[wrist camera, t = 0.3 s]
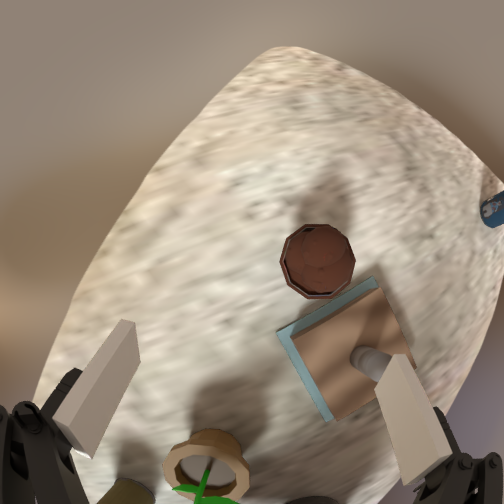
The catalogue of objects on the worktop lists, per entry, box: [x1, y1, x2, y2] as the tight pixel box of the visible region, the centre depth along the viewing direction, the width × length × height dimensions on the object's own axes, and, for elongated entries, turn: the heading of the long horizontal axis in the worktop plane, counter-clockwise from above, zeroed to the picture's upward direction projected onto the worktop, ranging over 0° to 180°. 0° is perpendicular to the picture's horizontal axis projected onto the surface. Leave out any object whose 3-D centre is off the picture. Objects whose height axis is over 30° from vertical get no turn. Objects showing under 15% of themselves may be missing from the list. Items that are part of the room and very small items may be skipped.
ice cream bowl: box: [279, 224, 356, 299], centre depth 40 cm, size 11×11×15 cm
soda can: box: [480, 191, 504, 228], centre depth 42 cm, size 7×7×12 cm
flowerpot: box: [162, 429, 250, 504], centre depth 27 cm, size 14×14×30 cm
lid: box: [290, 287, 417, 421], centre depth 37 cm, size 17×17×13 cm
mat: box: [276, 276, 379, 422], centre depth 44 cm, size 20×20×1 cm
